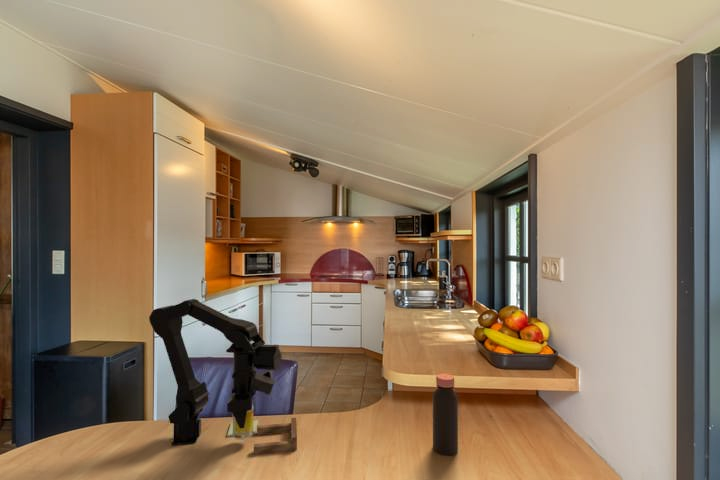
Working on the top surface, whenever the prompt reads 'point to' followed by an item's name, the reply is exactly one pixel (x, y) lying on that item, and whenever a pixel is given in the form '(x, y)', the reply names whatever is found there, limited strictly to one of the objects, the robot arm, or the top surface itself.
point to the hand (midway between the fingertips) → (243, 423)
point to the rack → (277, 446)
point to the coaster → (230, 433)
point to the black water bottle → (445, 416)
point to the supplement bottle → (248, 427)
